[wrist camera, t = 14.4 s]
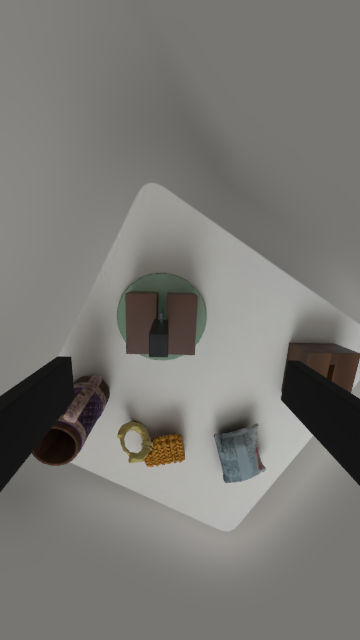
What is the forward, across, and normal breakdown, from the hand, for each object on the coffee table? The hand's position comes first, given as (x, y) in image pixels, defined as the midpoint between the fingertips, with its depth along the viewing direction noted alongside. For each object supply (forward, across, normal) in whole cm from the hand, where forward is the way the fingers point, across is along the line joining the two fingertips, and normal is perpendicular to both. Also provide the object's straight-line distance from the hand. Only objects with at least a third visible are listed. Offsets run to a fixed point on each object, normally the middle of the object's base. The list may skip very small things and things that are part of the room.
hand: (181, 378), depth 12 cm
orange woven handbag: (+22, -3, -25) cm, 33 cm away
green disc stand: (+22, -2, -1) cm, 22 cm away
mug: (+22, -14, -14) cm, 29 cm away
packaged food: (+22, +14, -27) cm, 37 cm away
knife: (+21, -2, -1) cm, 21 cm away
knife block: (+22, +26, -10) cm, 36 cm away
